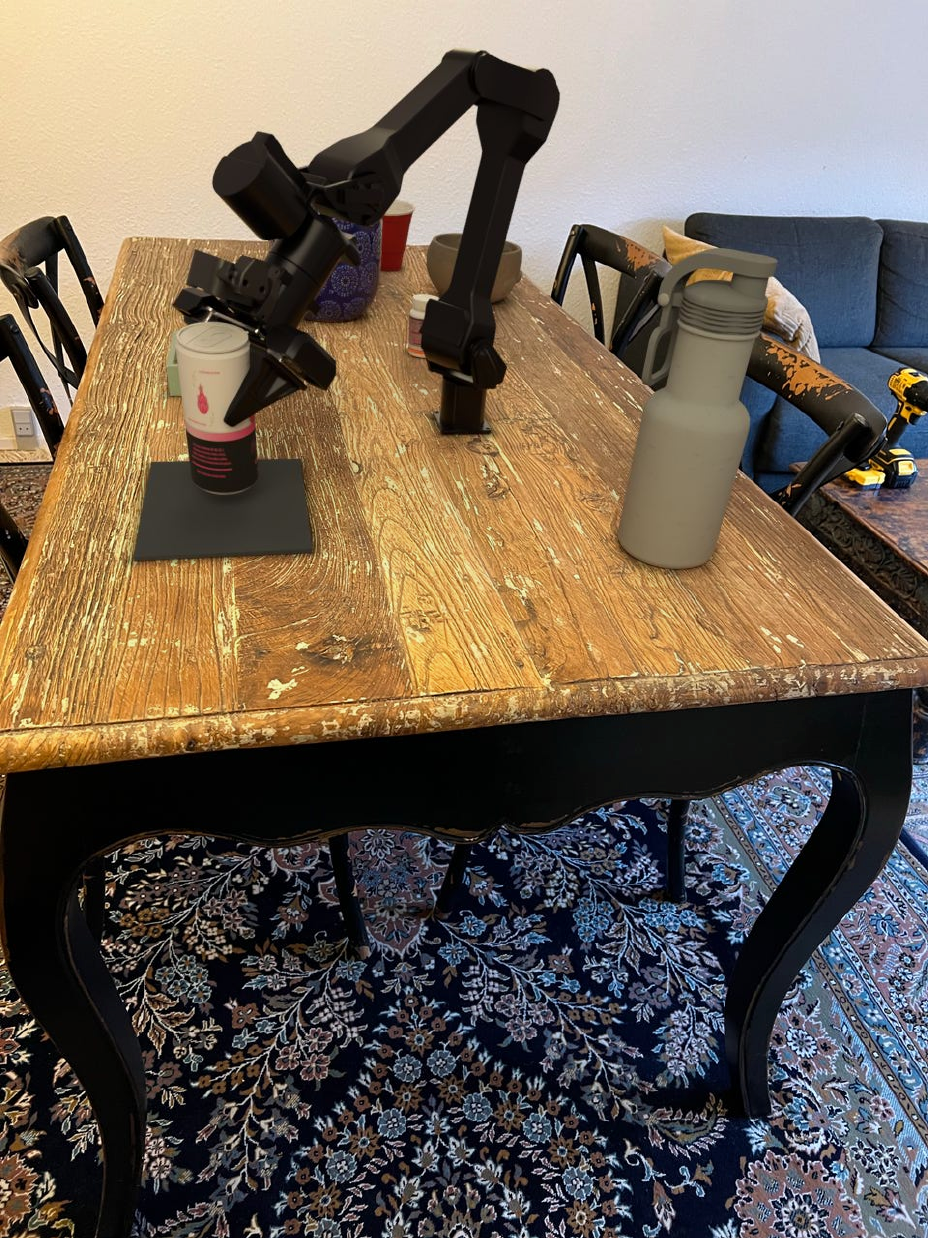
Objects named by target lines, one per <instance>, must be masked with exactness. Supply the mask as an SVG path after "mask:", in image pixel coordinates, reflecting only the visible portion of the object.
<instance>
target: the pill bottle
mask: <svg viewBox="0 0 928 1238" xmlns="http://www.w3.org/2000/svg"><path fill="white" fill-rule="evenodd" d="M430 298H432V299H435V300H438V299H439V298H440V297H438V296H436V295H433V294H427V293H419V294H414V295H413V296H412V299H411V307H412V308H411V309H410V310H409V313H408V341H407V344H408V345H407V353H408V354H409V355H411V356H413V357H416V358H422V359H426V357H425V354H424V352H423V350H422V349H421V336H422V334H421V333H419V330H420V328H421V326H422V324H423V320H424V316H425V309H426V304H427V302H428V300H429V299H430Z"/></svg>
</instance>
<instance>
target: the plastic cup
mask: <svg viewBox="0 0 928 1238" xmlns="http://www.w3.org/2000/svg"><path fill="white" fill-rule="evenodd" d="M415 210H416V206H415V205H414V204H413V203H410V202H408V201H404V200H400V199H395V201H394V202H393V204H392V205H391V206H390V208H389V209H388V210H387V212H386V213H385V215H384V216H383V217H382V253H381V268H380V271H385V272H395V271H399V270H401V269H402V266H403V262H404V255H405V252H406V247H407V242H408V236H409V232H410V231H409V230H410V226H411V222H412V218H413V214H414V212H415Z"/></svg>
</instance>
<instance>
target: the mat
mask: <svg viewBox="0 0 928 1238" xmlns="http://www.w3.org/2000/svg"><path fill="white" fill-rule="evenodd" d="M302 469H303V468H302V463H301V458H261V459H259V458H258V471H259V476H258V479H257V481H256V482H255V483H254V484H253V485H252V486H251V487H250V488H248V489H247V490H245V491H243V492H240V493H236V494H230V495H219V494H213V493H210V492H207V491H205V490H203V489H201V488H200V487H198V486H197V485H196V484H195V483H194V482H193V480H192V477H191V469H190V461H189V460H173V461H151V462H150V465H149V471H148V476H147V482H146V487H145V493H144V498H143V502H142V508H141V513H140V518H139V524H138V528H137V529H138V530H137V534H136V535H137V536H136V540H135V545H134V551H133V556H132V558H133V561H134V562H146V561H148V562H149V561H165V560H166V561H167V560H169V561H170V560H188V559H189V560H190V559H208V558H209V559H210V558H232V557H251V556H273V555H274V556H275V555H293V554H312V553H313V552H314V548H313V542H312V534H311V527H310V521H309V513H308V507H307V506H308V505H307V498H306V491H305V484H304V478H303V470H302Z"/></svg>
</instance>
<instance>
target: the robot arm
mask: <svg viewBox="0 0 928 1238" xmlns="http://www.w3.org/2000/svg"><path fill="white" fill-rule="evenodd" d="M560 100H561V92H560V89H559V87H558V85H557V80H556V79H555V76H554V74H553V72H552V71H551V70H549V69H548V68H544V67H538V66H529V65H521V64H514V63H511V62H509V61H505V60H503V59H501V58H499V57H497V56H495V55H493V54H491V53H490V52H489V51H487V50H486V49H476V48H466V47H454V48H452V49H449V50H447V51H446V52H445V54H444V55H443V56H442V57H441V61H440V63H439V64H438V65H437V66H435V68H433V69H432V70H431V71H430V72H429V73H427V75H426V76H425V77H424V78H423V79H421V80H420V81H419V82H418V84H416V86H414V87H412V89H411V90H410V91H408V93H406V95H405V96H404V97H403V98H401V99H400V100H399V101H398V102H397V103H396V104H395V105H394V106H392V108H391V109H390V110H389V111H388V112H387V113H385V115H383V116H382V117H381V118H380V119H379V120H378V121H376V122H375V124H374V125H372V126H371V127H369V128H368V129H366V130H364V131H362V132H359V133H356V134H353V135H350V136H347V137H344V138H341V139H340V140H337V141H336V142H334V143H333V144H331V145H330V146H328V147H326V148H324V149H323V150H321V151H320V152H318V153H317V154H315V156H314V157H313V158H312V160H311V161H310V162H309V164H307V165H303V166H300V167H297V166H296V165H295V163H294V162H293V161H292V160H291V158H290V157H289V156H288V155H287V154H286V152H285V149H284V148H283V145H282V144H281V142H280V141H279V140H278V139H277V138H276V136H275V135H274V134H273V133H269V132H265V131H261V130H257V131H256V132H255V134H253V136H252V138H251V140H249V141H246V142H243V143H241V144H239V145H238V146H236V147H235V148H234V149H232V150H231V151H230V152H229V153H228V154H227V155H223V157H222V158H221V159H220V160H219V162H218V164H217V165H216V167H215V170H214V172H213V175H212V180H211V184H212V185H211V186H212V189H213V192H214V193H215V194H216V195H217V196H218V197H219V198H220V199H221V200H222V201H223V202H224V203H225V204H226V205H227V206H228V208H229V209H230V210H231V211H232V212H233V213H234V214H235V215H236V216H237V217H238V218H239V220H241V222H243V224H245V226H246V227H247V228H248V229H249V230H250V231H251V232H252V233H253V234H254V235H255V236H256V237H257V238H258V239H260V240H262V241H268V240H274V239H277V240H276V241H275V243H274V244H273V246H272V247H271V249H270V251H269V250H268V252H267V253H266V255H265V256H264V258H263V260H262V259H259V258H256V257H254V256H253V257H250V256H248V255H245V254H242V255H240V256H239V257H238V259H237V260H236V261H235V263H234V262H232V261H230V260H226V259H224V258H221V257H219V256H216V255H214V254H210V253H208V252H205V251H202V250H199V249H197V248H194V251H193V255H192V258H191V262H190V268H189V270H188V274H187V278H186V282H185V285H186V286H188V287H185V288H181V290H180V292H179V294H178V295H177V297H176V298H175V300H174V301H173V303H172V304H171V305H172V307H173V308H174V309H175V310H176V311H178V313H179V314H181V315H182V316H183V323H185V325H186V326H188V325H191V324H195V323H201V322H221V323H227V324H232V325H235V326H237V327H240V328H242V329H243V330H244V331H248V333H247V334H248V340H249V341H250V343H251V344H250V346H249V349H250V368H249V371H248V372H247V374H246V376H245V378H244V380H243V382H242V383H241V385H240V387H239V389H238V391H237V393H236V395H235V397H234V398H233V400H232V402H231V404H230V406H229V408H228V410H227V412H226V415H225V417H224V419H223V421H224V423H226V424H227V425H228V426H230V427H234V426H236V425H238V424H239V423H241V422H243V421H244V420H246V419H247V418H249V417H251V416H252V415H254V414H255V415H256V414H258V413H259V412H261V411H263V410H264V409H266V408H268V407H269V406H271V405H273V404H275V403H277V402H278V401H280V400H283V399H284V398H286V397H289V396H290V395H292V394H295V393H296V392H298V391H303V392H305V391H307V389H308V388H309V386H308V385H310V386H313V387H315V388H317V389H319V390H321V391H323V392H327V391H328V389H329V388H330V386H331V385H332V383H333V382H334V380H335V378H336V377H337V376H338V374H337V360H336V359H335V358H334V357H333V356H332V355H331V354H330V353H329V352H328V351H327V350H326V349H325V348H324V347H323V346H322V345H321V344H320V343H319V342H318V341H317V340H316V339H315V338H313V336H312V335H311V334H309V333H308V332H306V331H304V330H301V329H300V328H299V329H298V327H299V326H300V324H301V323H302V322H303V320H304V316H305V315H306V313H310V314H313V315H315V316H317V314H318V312H319V311H320V309H321V308H322V307H321V306H320V305H319V304H318V303H317V302H316V301H315V299H316V297H317V296H318V294H319V292H320V291H321V289H322V288H323V286H324V284H325V283H326V281H327V280H328V278H329V277H330V275H331V273H332V272H333V270H334V269H335V267H336V265H337V264H338V262H339V261H340V262H343V263H346V264H349V265H352V266H355V267H358V266H360V263H361V261H360V254H359V251H358V248H357V237H356V236H354V235H351V234H347V233H344V232H342V231H341V230H340V229H339V227H338V226H337V225H336V224H335V222H334V221H333V220H332V219H331V218H330V217H332V218H336V219H339V220H343V221H346V222H350V223H353V224H357V225H361V226H367V227H369V226H372V225H374V224H375V223H377V222H378V221H380V220H381V218H382V217H383V216H384V215H385V213H386V212H387V210H388V209H389V208H390V206H391V205H392V204H393V202H394V201H395V200H397V198H398V197H399V196H400V193H401V191H402V187H403V183H404V182H403V181H404V177H405V174H406V173H407V172H408V170H409V169H410V168H411V166H412V165H413V164H414V163H415V162H416V161H418V159H419V158H420V157H422V156H423V155H424V154H425V153H426V152H427V151H428V150H429V149H430V148H431V147H432V146H433V145H434V144H435V143H436V142H437V141H438V140H439V139H440V138H441V137H442V136H443V135H444V134H445V133H446V132H447V131H448V130H449V129H450V128H451V127H453V125H455V124H456V123H457V121H459V120H460V118H462V117H463V116H464V115H465V114H466V113H467V112H468V111H469V110H470V109H471V108H472V107H473V106H475V107H477V109H476V115H475V125H476V130H477V134H478V140H479V143H480V149H481V156H480V159H479V165H478V169H477V172H476V176H475V180H474V185H473V188H472V193H471V197H470V200H469V204H468V209H467V213H466V217H465V222H464V226H463V229H462V233H461V234H462V237H461V241H460V246H459V250H458V254H457V258H456V262H455V266H454V270H453V274H452V278H451V282H450V285H449V288H448V289H447V290H446V291H445V293H444V294H443V295H442V294H441V296H440V297H438V298H439V299H438V300H435V299H432V298H430V299H429V300H428V302H427V304H426V309H425V316H424V320H423V324H422V326H421V328H420V330H419V333H421V334H422V336H421V349H422V350H423V352H424V354H425V357H426V358H425V361H426V365H427V370H428V372H430V373H435V374H436V375H440V376H442V377H441V378H442V379H441V391H440V393H441V394H440V409H439V410H433V411H432V416H433V419H434V420H435V423H436V425H437V427H438V429H439V431H440V433H441V434H444V435H459V434H460V435H462V434H463V435H464V434H469V435H470V434H492V431H493V428H492V427H491V425H490V423H489V421H488V420H487V418H486V407H487V396H488V390H495V389H497V386H498V385H501V384H503V382H504V379H505V376H506V373H507V370H508V366H507V364H506V363H505V361H504V360H503V358H502V356H501V355H500V354H499V352H498V351H497V350H496V348H495V347H494V342H495V339H496V338H495V337H496V336H495V335H496V330H497V323H496V318H495V314H494V309H493V305H492V303H491V294H492V290H493V287H494V283H495V279H496V275H497V271H498V268H499V264H500V260H501V256H502V252H503V248H504V245H505V241H507V237H508V233H509V229H510V226H511V222H512V218H513V214H514V210H515V207H516V203H517V199H518V195H519V192H520V187H521V184H522V180H523V175H524V172H525V169H526V166H527V164H528V163H529V162H530V161H531V160H532V158H533V157H534V156H535V155H536V154H537V153H538V151H539V150H540V149H541V148H542V147H543V146H544V144H545V143H546V142H547V140H548V138H549V135H550V132H551V129H552V127H553V124H554V121H555V119H556V117H557V113H558V110H559V107H560ZM310 203H312V205H313V206H314V208H315V209H316V210H317V211H318V212H319V213H321V214H322V215H321V214H318V213H317V212H316V211H315V210H314V209H313V208H312V206H311V205H310ZM328 216H329V217H328ZM261 338H263V339H264V340H262V339H261ZM304 382H306V383H307V384H308V385H307V384H306V383H304ZM180 398H181V400H182V396H180Z"/></svg>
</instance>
